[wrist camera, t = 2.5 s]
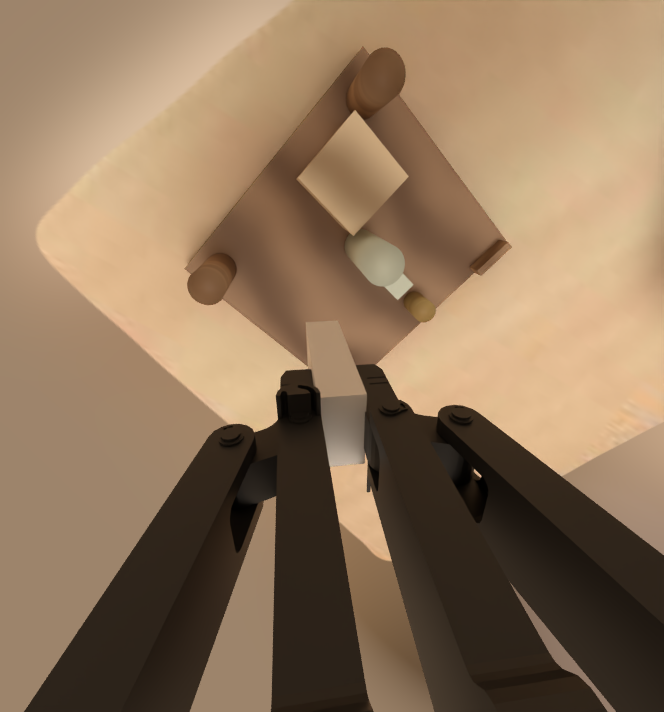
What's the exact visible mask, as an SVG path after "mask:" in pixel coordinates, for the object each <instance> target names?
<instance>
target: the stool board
mask: <svg viewBox="0 0 664 712" xmlns="http://www.w3.org/2000/svg"><path fill="white" fill-rule="evenodd" d="M404 82H405V66H404V63H403V60H402V58H401V57H400V55H399V54H398V53H397V52H396V51H394V50H393V49H390V48H379V49H377V50H375V51H374V52H373V53H371V54H370V55H369V54H368V52H367V51H366V50H365V48H364V47H362V48H361V50H360V51H359V52H358V53H357V54H356V56H355V57H354V58H353V59H352V61H351V62H350V63H349V64H348V66H347V67H346V68H345V69H344V71H343V72H342V73H341V74H340V76H339V77H338V78H337V79H336V81H335V82H334V83H333V84H332V86H331V87H330V88H329V89H328V91H327V92H326V93H325V94H324V96H323V97H322V98H321V99H320V101H319V102H318V103H317V104H316V105H315V107H314V108H313V109H312V110H311V112H310V113H309V114H308V115H307V117H306V118H305V119H304V120H303V122H302V123H301V124H300V125H299V127H298V128H297V129H296V130H295V132H294V133H293V134H292V135H291V137H290V138H289V139H288V140H287V142H286V143H285V144H284V145H283V147H282V148H281V149H280V150H279V152H278V153H277V154H276V155H275V156H274V158H273V159H272V160H271V161H270V163H269V164H268V165H267V166H266V168H265V169H264V170H263V171H262V173H261V174H260V175H259V176H258V178H257V179H256V180H255V181H254V183H253V184H252V185H251V186H250V188H249V189H248V190H247V191H246V193H245V194H244V195H243V196H242V198H241V199H240V200H239V201H238V203H237V204H236V205H235V206H234V208H233V209H232V210H231V211H230V212H229V214H228V215H227V216H226V217H225V219H224V220H223V221H222V222H221V224H220V225H219V226H218V227H217V229H216V230H215V231H214V232H213V234H212V235H211V236H210V237H209V239H208V240H207V241H206V242H205V244H204V245H203V246H202V247H201V249H200V250H199V251H198V252H197V254H196V255H195V256H194V257H193V259H192V260H191V261H190V262H189V263H188V265H187V266H186V267H185V268H184V269H185V270H187V271H188V272H189V273H190V274H191V275H190V277H189V279H188V283H187V287H188V291H189V293H190V295H191V296H192V298H193V299H194V300H196V301H197V302H199V303H201V304H204V305H213V304H216V303H218V302H219V301H221V300H222V299H223V300H225V301H226V302H227V303H228V304H230V305H231V306H232V307H233V308H235V309H236V310H237V311H238V312H240V313H241V314H242V315H244V316H245V317H246V318H247V319H249V320H250V321H251V322H252V323H254V324H255V325H256V326H257V327H259V328H260V329H261V330H263V331H264V332H265V333H266V334H268V335H269V336H270V337H271V338H273V339H274V340H275V341H276V342H278V343H279V344H280V345H282V346H283V347H284V348H285V349H287V350H288V351H289V352H290V353H292V354H293V355H294V356H295V357H297V358H298V359H299V360H301V361H302V362H303V363H304V364H306V365H307V366H308V359H307V338H306V322H319V321H338V322H339V325H340V327H341V330H342V332H343V335H344V337H345V340H346V342H347V345H348V348H349V350H350V353H351V355H352V358H353V360H354V363H355V365H365V364H375V365H376V364H377V363H378V362H379V361H380V360H381V359H382V358H383V357H384V356H385V355H386V354H388V353H389V352H390V351H391V350H392V349H393V348H394V347H395V346H396V345H397V344H398V343H399V342H400V341H401V340H403V339H404V338H405V337H406V336H407V335H408V334H409V333H410V332H411V331H412V330H413V329H414V328H415V327H416V326H418V325H419V324H420V323H421V322H427V321H429V320H431V319H432V318H433V317H434V315H435V312H436V308H437V307H438V306H439V305H440V304H441V303H442V302H443V301H444V300H445V299H446V298H448V297H449V296H450V295H451V294H452V293H453V292H454V291H455V290H456V289H457V288H458V287H459V286H460V285H461V284H463V283H464V282H465V281H466V280H467V279H468V278H469V277H470V276H471V275H472V274H473V273H476V274H479V275H482V274H484V273H485V272H486V271H487V270H488V269H489V268H490V267H491V266H492V265H493V264H494V263H495V262H496V261H498V260H499V259H500V258H501V257H502V256H503V255H504V254H505V253H506V252H507V251H508V250H509V249H511V248H512V247H511V245H510V244H509V243H508V242H507V241H506V240H505V238H504V237H503V236H502V234H501V233H500V232H499V230H498V229H497V228H496V226H495V225H494V224H493V222H492V221H491V219H490V218H489V217H488V215H487V214H486V213H485V211H484V210H483V209H482V207H481V206H480V205H479V203H478V202H477V200H476V199H475V198H474V196H473V195H472V194H471V192H470V191H469V190H468V188H467V187H466V186H465V184H464V183H463V181H462V180H461V179H460V177H459V176H458V175H457V173H456V172H455V171H454V169H453V168H452V166H451V165H450V164H449V162H448V161H447V160H446V158H445V157H444V156H443V154H442V153H441V152H440V150H439V149H438V147H437V146H436V145H435V143H434V142H433V141H432V139H431V138H430V137H429V135H428V134H427V133H426V131H425V130H424V128H423V127H422V126H421V124H420V123H419V122H418V120H417V119H416V118H415V116H414V115H413V113H412V112H411V111H410V109H409V108H408V107H407V105H406V104H405V103H404V101H403V100H402V99H401V97H400V96H399V93H400V91H401V90H402V88H403V85H404ZM355 110H356V112H357V113H358V114H359V115H360V117H361V118H362V119H363V120H364V122H365V123H366V124H367V125H368V127H369V128H370V129H371V130H372V131H373V133H374V134H375V135H376V136H377V138H378V139H379V140H380V141H381V143H382V144H383V145H384V146H385V148H386V149H387V150H388V151H389V153H390V154H391V155H392V156H393V158H394V159H395V160H396V161H397V163H398V164H399V165H400V166H401V168H402V169H403V170H404V171H405V173H406V174H407V175H408V176H409V177H408V178H407V179H406V180H405V181H404V182H403V183H402V184H401V185H400V187H399V188H398V189H397V190H396V191H395V192H394V193H393V194H392V195H391V196H390V197H389V198H388V199H387V201H386V202H385V203H384V204H383V205H382V206H381V207H380V208H379V209H378V210H377V211H376V212H375V213H374V214H373V216H372V217H371V218H370V219H369V220H368V221H367V222H366V223H365V224H364V225H363V226H362V227H361V228H360V229H364V230H367V231H369V232H371V233H372V234H374V235H376V236H378V237H380V238H381V239H383V240H385V241H387V242H389V243H390V244H392V245H394V246H396V247H397V248H398V249H399V250H400V251H401V252H402V254H403V256H404V259H405V267H404V271H403V274H404V275H405V276H406V277H407V278H408V279H409V280H410V281H411V282H412V284H413V286H412V287H411V288H410V289H409V290H408V291H407V292H406V293H405V294H404V295H403V296H401V297H400V298H399V299H398V300H397V299H396V298H395V297H394V296H393V295H392V294H391V293H390V292H389V291H388V290H387V289H386V288H385V287H384V286H376V285H374V284H372V283H371V282H370V281H369V280H368V279H367V278H366V277H365V276H364V275H363V273H362V272H361V271H360V270H359V269H358V268H357V266H356V265H355V264H354V263H353V262H352V261H351V259H350V258H349V257H348V256H347V254H346V252H345V241H346V238H347V237H348V235H349V234H350V233H349V232H348V231H346V230H345V229H344V228H342V226H341V225H340V224H339V223H338V222H337V221H336V220H335V219H334V218H333V217H332V216H331V215H330V214H329V213H328V212H327V211H326V210H325V209H324V208H323V207H322V206H321V205H320V204H319V203H318V201H317V200H316V199H315V198H314V197H313V196H312V195H311V194H310V193H309V192H308V191H307V190H306V189H305V188H304V187H303V186H302V185H301V184H300V183H299V182H298V181H297V180H296V179H297V178H298V176H299V175H300V174H301V173H302V172H303V170H304V169H305V168H306V167H307V166H308V164H309V163H310V162H311V161H312V160H313V158H314V157H315V156H316V155H317V154H318V153H319V151H320V150H321V149H322V148H323V147H324V145H325V144H326V143H327V142H328V141H329V139H330V138H331V137H332V136H333V135H334V133H335V132H336V131H337V130H338V129H339V127H340V126H341V125H342V124H343V123H344V122H345V120H346V119H347V118H348V117H349V116H350V115H351V114H352V113H353V112H354V111H355Z"/></svg>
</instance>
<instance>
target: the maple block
mask: <svg viewBox="0 0 664 712" xmlns="http://www.w3.org/2000/svg"><path fill="white" fill-rule="evenodd" d="M408 177H409V176H408V175H407V174H406V173H405V171H404V170H403V169H402V168H401V166H400V165H399V164H398V163H397V161H396V160H395V159H394V158H393V156H392V155H391V154H390V153H389V151H388V150H387V149H386V148H385V146H384V145H383V144H382V143H381V141H380V140H379V139H378V138H377V136H376V135H375V134H374V133H373V131H372V130H371V129H370V128H369V127H368V125H367V124H366V123H365V122H364V120H363V119H362V118H361V117H360V115H359V114H358V113H357V112H356V110H355V111H354V112H353V113H352V114H351V115H350V116H349V117H348V118H347V119H346V120H345V122H344V123H343V124H342V125H341V126H340V127H339V129H338V130H337V131H336V132H335V133H334V135H333V136H332V137H331V138H330V139H329V141H328V142H327V143H326V144H325V145H324V147H323V148H322V149H321V150H320V151H319V153H318V154H317V155H316V156H315V157H314V158H313V160H312V161H311V162H310V163H309V164H308V166H307V167H306V168H305V169H304V170H303V172H302V173H301V174H300V175H299V176H298V178H297V179H296V180H297V181H298V182H299V183H300V184H301V185H302V186H303V187H304V188H305V189H306V190H307V191H308V192H309V193H310V194H311V195H312V196H313V197H314V198H315V199H316V200H317V201H318V203H319V204H320V205H321V206H322V207H323V208H324V209H325V210H326V211H327V212H328V213H329V214H330V215H331V216H332V217H333V218H334V219H335V220H336V221H337V222H338V223H339V224H340V225H341V226H342V228H344V229H345V230H346V231H348V232H349V233H350V234H352V235H353V236H354V235H355V234H356V233H357V232H358V231H359V230H360V228H361V227H362V226H363V225H364V224H365V223H366V222H367V221H368V220H369V219H370V218H371V217H372V216H373V214H374V213H375V212H376V211H377V210H378V209H379V208H380V207H381V206H382V205H383V204H384V203H385V202H386V201H387V199H388V198H389V197H390V196H391V195H392V194H393V193H394V192H395V191H396V190H397V189H398V188H399V187H400V185H401V184H402V183H403V182H404V181H405V180H406V179H407V178H408Z"/></svg>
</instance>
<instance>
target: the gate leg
mask: <svg viewBox="0 0 664 712" xmlns="http://www.w3.org/2000/svg"><path fill="white" fill-rule="evenodd" d="M345 252H346V254H347V256H348V257H349V258H350V259H351V261H352V262H353V263H354V264H355V265H356V266H357V268H358V269H359V270H360V271H361V272H362V273H363V275H364V276H365V277H366V278H367V279H368V280H369V281H370V282H371V283H372V284H374V285H376V286H384V287H385V288H386V289H387V290H388V291H389V292H390V293H391V294H392V295H393V296H394V297H395V298H396V299H397V300H398V299H399V298H400V297H401V296H403V295H404V294H405V293H406V292H407V291H408V290H409V289H410V288H411V287H412V286H413V284H412V282H411V281H410V280H409V279H408V278H407V277H406V276H405V275H404V274H403V271H404V267H405V259H404V256H403V254H402V252H401V251H400V250H399V249H398V248H397V247H396V246H394V245H392V244H390V243H389V242H387V241H385V240H383V239H381V238H380V237H378V236H376V235H374V234H372V233H371V232H369V231H367V230H364V229H360V230H359V231H358V232H357V233H356V234H355V235H354V236H353V235H352V234H349V235H348V237H347V238H346V241H345Z"/></svg>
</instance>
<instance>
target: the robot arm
mask: <svg viewBox="0 0 664 712" xmlns="http://www.w3.org/2000/svg"><path fill="white" fill-rule="evenodd" d="M306 338H307V359H308V369H305V370H290V371H286V372H285V373H284V374H283V375H282V376H281V386H280V390H279V391H278V392H277V394H276V402H277V413H278V420H277V422H275V423H274V424H273V425H272V426H270V427H268V428H266V429H264V430H261V431H258V432H254V431H253V429H252V428H250V427H249V426H247V425H242V424H230V425H227V426H223V427H221V428H219V429H217V430H215V431H214V432H213V433H212V434H211V435H210V436H209V437H208V439H207V440H206V442H205V443H204V445H203V446H202V448H201V449H200V451H199V452H198V454H197V455H196V457H195V458H194V460H193V461H192V462H191V464H190V465H189V467H188V468H187V470H186V471H185V473H184V474H183V476H182V477H181V479H180V480H179V482H178V483H177V485H176V486H175V488H174V489H173V491H172V492H171V494H170V495H169V497H168V498H167V500H166V501H165V503H164V504H163V506H162V507H161V509H160V510H159V512H158V513H157V515H156V516H155V518H154V519H153V521H152V522H151V524H150V525H149V527H148V528H147V530H146V531H145V533H144V534H143V535H142V537H141V539H140V540H139V542H138V543H137V544H136V546H135V547H134V549H133V550H132V552H131V553H130V555H129V556H128V558H127V559H126V561H125V562H124V564H123V565H122V567H121V568H120V570H119V571H118V573H117V574H116V576H115V577H114V579H113V580H112V582H111V583H110V585H109V586H108V588H107V589H106V591H105V592H104V594H103V595H102V597H101V598H100V600H99V601H98V603H97V604H96V606H95V607H94V608H93V610H92V612H91V613H90V614H89V616H88V618H87V619H86V620H85V622H84V623H83V625H82V627H81V628H80V629H79V631H78V632H77V634H76V635H75V637H74V638H73V640H72V641H71V643H70V644H69V646H68V647H67V649H66V650H65V652H64V653H63V655H62V656H61V658H60V659H59V661H58V662H57V664H56V665H55V667H54V668H53V670H52V671H51V673H50V674H49V675H48V677H47V678H46V680H45V681H44V683H43V684H42V686H41V688H40V689H39V691H38V692H37V694H36V695H35V696H34V698H33V699H32V701H31V702H30V704H29V705H28V707H27V708H26V710H25V711H24V712H190V709H191V706H192V703H193V701H194V698H195V695H196V692H197V689H198V687H199V684H200V681H201V678H202V675H203V672H204V670H205V667H206V664H207V661H208V658H209V656H210V653H211V650H212V647H213V645H214V642H215V639H216V636H217V633H218V630H219V628H220V625H221V622H222V619H223V617H224V614H225V611H226V608H227V606H228V603H229V600H230V597H231V594H232V591H233V589H234V586H235V583H236V580H237V577H238V575H239V572H240V569H241V566H242V563H243V561H244V558H245V555H246V552H247V550H248V547H249V544H250V541H251V538H252V535H253V533H254V530H255V527H256V524H257V522H258V519H259V516H260V513H261V510H262V507H263V501H264V500H267V499H269V498H272V497H275V496H276V535H275V578H274V622H273V667H272V669H273V670H272V705H271V707H272V708H271V712H373V709H372V707H371V704H370V702H369V699H368V695H367V690H366V684H365V679H364V673H363V667H362V661H361V654H360V648H359V642H358V636H357V630H356V625H355V618H354V612H353V606H352V600H351V594H350V588H349V582H348V576H347V570H346V563H345V557H344V551H343V545H342V539H341V533H340V527H339V521H338V515H337V509H336V503H335V496H334V490H333V484H332V478H331V472H330V467H332V466H342V465H353V464H363V463H365V453H366V457H367V460H368V470H367V492H370V486H371V488H372V492H373V496H374V499H375V503H376V506H377V510H378V513H379V517H380V520H381V524H382V527H383V531H384V534H385V538H386V541H387V545H388V549H389V552H390V556H391V559H392V563H393V566H394V570H395V573H396V577H397V580H398V584H399V587H400V591H401V595H402V598H403V602H404V605H405V609H406V612H407V616H408V619H409V623H410V626H411V630H412V633H413V637H414V640H415V644H416V647H417V651H418V655H419V658H420V661H421V665H422V668H423V672H424V675H425V679H426V683H427V686H428V690H429V694H430V697H431V700H432V704H433V707H434V711H435V712H607V710H606V709H605V707H604V706H603V704H602V703H601V702H600V700H599V699H598V697H597V696H596V694H595V693H594V692H593V690H592V689H591V688H590V687H589V686H588V685H587V684H586V683H585V682H584V681H583V680H582V679H581V678H580V677H579V676H578V675H575V674H573V673H571V672H568V671H566V670H564V669H562V668H561V667H560V666H559V665H558V664H557V663H556V662H555V661H554V659H553V658H552V656H551V655H550V653H549V652H548V650H547V648H546V646H545V645H544V643H543V641H542V639H541V638H540V636H539V634H538V632H537V630H536V629H535V627H534V625H533V623H532V622H531V620H530V618H529V616H528V614H527V613H526V611H525V609H524V607H523V606H522V604H521V602H520V600H519V599H518V597H517V595H516V593H515V591H514V590H513V588H512V586H511V584H512V585H513V586H514V587H515V589H516V590H517V591H518V593H519V594H520V595H521V596H522V597H523V599H524V600H525V601H526V602H527V603H528V605H529V606H530V607H531V608H532V610H533V611H534V612H535V613H536V614H537V616H538V617H539V618H540V619H541V620H542V622H543V623H544V624H545V625H546V627H547V628H548V629H549V630H550V631H551V633H552V634H553V635H554V636H555V637H556V639H557V640H558V641H559V642H560V644H561V645H562V646H563V647H564V649H565V650H566V651H567V652H568V653H569V655H570V656H571V657H572V658H573V660H575V662H576V663H577V664H578V666H579V667H580V668H581V669H582V670H583V672H584V673H585V674H586V675H587V676H588V677H589V679H590V680H591V681H592V683H593V684H594V685H595V686H596V688H597V689H598V690H599V691H600V692H601V694H602V695H603V696H604V697H605V698H606V699H607V701H608V702H609V703H610V705H611V706H612V707H613V708H614V709H615V710H616V712H664V555H662V554H661V553H660V552H658V551H657V550H656V549H655V548H653V547H652V546H651V545H649V544H648V543H647V542H645V541H644V540H643V539H642V538H640V537H639V536H638V535H636V534H635V533H634V532H633V531H631V530H630V529H628V528H627V527H626V526H625V525H624V524H622V523H621V522H620V521H618V520H617V519H616V518H614V517H613V516H612V515H611V514H609V513H608V512H607V511H605V510H604V509H603V508H601V507H600V506H599V505H598V504H596V503H595V502H594V501H592V500H591V499H590V498H588V497H587V496H586V495H585V494H583V493H582V492H581V491H579V490H578V489H577V488H575V487H574V486H573V485H572V484H570V483H569V482H568V481H566V480H565V479H564V478H563V477H561V476H560V475H559V474H557V473H556V472H555V471H553V470H552V469H551V468H550V467H548V466H547V465H546V464H544V463H543V462H542V461H540V460H539V459H538V458H537V457H535V456H534V455H533V454H531V453H530V452H529V451H527V450H526V449H525V448H524V447H522V446H521V445H520V444H518V443H517V442H516V441H515V440H513V439H512V438H511V437H509V436H508V435H507V434H505V433H504V432H503V431H502V430H500V429H499V428H498V427H496V426H495V425H494V424H492V423H491V422H490V421H489V420H487V419H486V418H485V417H483V416H482V415H481V414H479V413H478V412H476V411H475V410H473V409H471V408H468V407H465V406H460V405H450V406H446V407H443V408H441V409H440V411H439V412H438V417H431V416H423V415H418V414H415V413H414V412H413V410H412V409H411V407H410V406H409V405H408V404H407V403H405V402H403V401H401V400H398V399H397V397H396V395H395V393H394V391H393V389H392V387H391V385H390V384H389V382H388V380H387V378H386V376H385V374H384V372H383V370H382V369H381V368H379V367H378V366H376V365H375V364H365V365H355V363H354V360H353V358H352V355H351V353H350V350H349V348H348V345H347V342H346V340H345V337H344V335H343V332H342V330H341V327H340V325H339V322H338V321H319V322H306ZM474 469H475V470H476V471H477V472H478V473H479V474H480V475H481V476H482V477H481V478H480V477H479V476H477V475H476V474H475V473H474ZM508 580H509V581H508ZM510 583H511V584H510Z"/></svg>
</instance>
